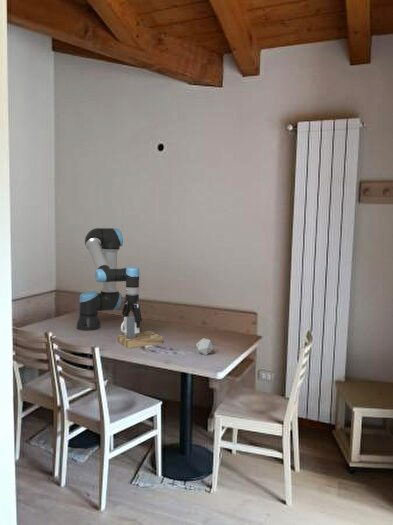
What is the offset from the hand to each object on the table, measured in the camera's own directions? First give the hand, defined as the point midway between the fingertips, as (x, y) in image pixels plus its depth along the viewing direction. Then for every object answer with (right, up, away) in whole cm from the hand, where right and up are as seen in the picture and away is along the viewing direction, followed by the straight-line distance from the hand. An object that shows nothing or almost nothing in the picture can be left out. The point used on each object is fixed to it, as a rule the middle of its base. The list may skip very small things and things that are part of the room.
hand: (131, 330), depth 270 cm
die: (+42, -11, -12) cm, 45 cm away
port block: (+5, -8, +4) cm, 10 cm away
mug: (-5, -6, +21) cm, 22 cm away
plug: (0, -8, +1) cm, 8 cm away
